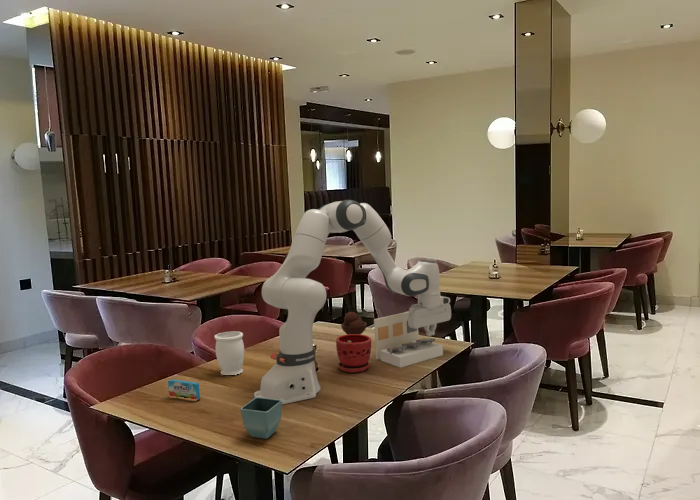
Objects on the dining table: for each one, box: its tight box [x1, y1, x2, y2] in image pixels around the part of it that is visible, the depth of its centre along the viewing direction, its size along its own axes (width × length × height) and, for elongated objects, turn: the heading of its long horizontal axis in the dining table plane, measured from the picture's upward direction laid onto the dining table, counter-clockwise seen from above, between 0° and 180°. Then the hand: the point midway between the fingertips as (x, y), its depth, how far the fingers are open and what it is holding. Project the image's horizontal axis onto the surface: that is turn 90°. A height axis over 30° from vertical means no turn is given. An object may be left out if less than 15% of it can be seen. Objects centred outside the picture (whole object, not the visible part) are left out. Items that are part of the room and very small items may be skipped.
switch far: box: [416, 337, 436, 343], centre depth 223 cm, size 4×7×1 cm, turn 35°
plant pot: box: [335, 334, 372, 373], centre depth 209 cm, size 13×13×12 cm
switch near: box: [387, 346, 407, 351], centre depth 214 cm, size 4×7×1 cm, turn 35°
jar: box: [214, 330, 245, 376], centre depth 211 cm, size 11×10×15 cm
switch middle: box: [402, 342, 421, 347], centre depth 218 cm, size 4×7×1 cm, turn 35°
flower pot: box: [240, 397, 283, 440], centre depth 156 cm, size 9×9×9 cm
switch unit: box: [373, 310, 444, 369], centre depth 219 cm, size 22×15×16 cm
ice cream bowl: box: [340, 311, 368, 343], centre depth 239 cm, size 11×11×15 cm
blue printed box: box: [167, 378, 201, 399], centre depth 187 cm, size 12×2×6 cm, turn 65°
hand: (430, 335), depth 220 cm, fingers closed
